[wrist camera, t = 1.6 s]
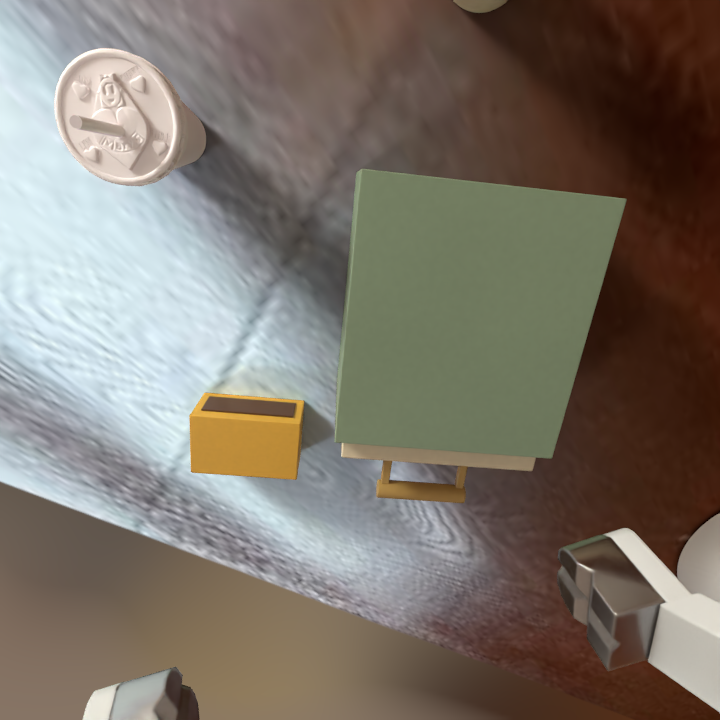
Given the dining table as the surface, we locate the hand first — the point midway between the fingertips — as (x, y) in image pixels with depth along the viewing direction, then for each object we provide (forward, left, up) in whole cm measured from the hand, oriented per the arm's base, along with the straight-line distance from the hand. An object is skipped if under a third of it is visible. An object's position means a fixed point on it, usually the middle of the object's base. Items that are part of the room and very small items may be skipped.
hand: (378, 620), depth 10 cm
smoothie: (+16, -5, -30) cm, 34 cm away
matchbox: (+3, +14, -30) cm, 33 cm away
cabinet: (-6, -3, -30) cm, 30 cm away
